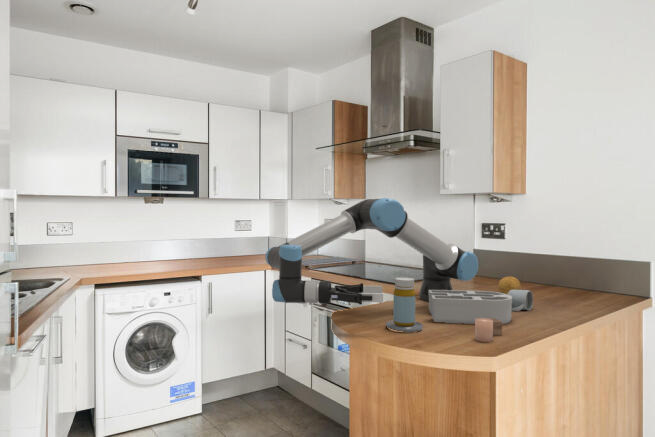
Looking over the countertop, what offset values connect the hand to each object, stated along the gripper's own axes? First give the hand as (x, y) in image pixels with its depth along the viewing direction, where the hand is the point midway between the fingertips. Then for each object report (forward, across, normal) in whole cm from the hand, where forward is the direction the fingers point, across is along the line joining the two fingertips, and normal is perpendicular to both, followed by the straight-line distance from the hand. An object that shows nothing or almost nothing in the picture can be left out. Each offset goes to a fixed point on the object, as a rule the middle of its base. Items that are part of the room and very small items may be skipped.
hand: (382, 293), depth 143 cm
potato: (+58, -57, -11) cm, 82 cm away
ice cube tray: (+32, -16, -12) cm, 37 cm away
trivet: (+7, 0, -11) cm, 13 cm away
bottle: (+7, 0, -10) cm, 12 cm away
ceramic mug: (+54, -33, -11) cm, 64 cm away
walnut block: (+34, +3, -11) cm, 36 cm away
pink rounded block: (+30, +10, -11) cm, 34 cm away
